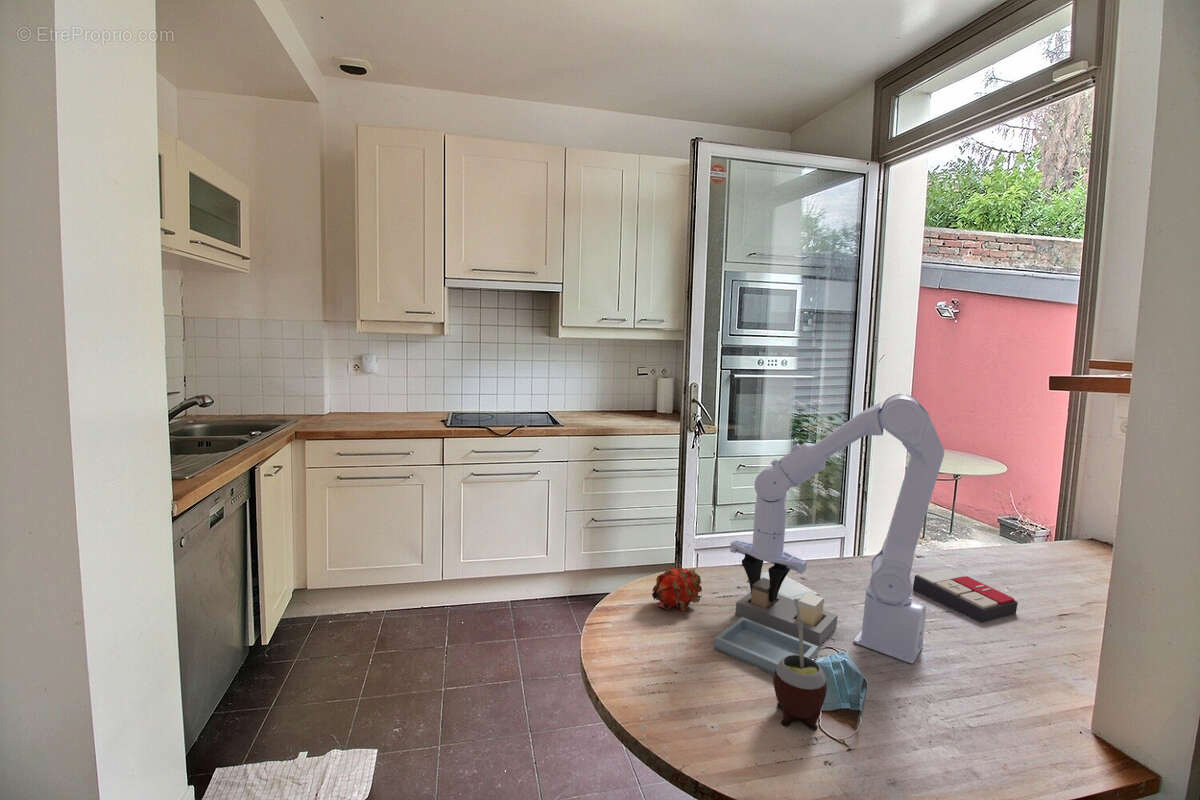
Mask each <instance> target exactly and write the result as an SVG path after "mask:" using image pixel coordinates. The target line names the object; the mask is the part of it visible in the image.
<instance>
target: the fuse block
mask: <svg viewBox="0 0 1200 800" xmlns="http://www.w3.org/2000/svg"><path fill="white" fill-rule="evenodd" d="M751 597H752V595H751V591H749V592H748V593H747V594H745V595H744V596H743V597H741V598H740V599H739V600H738V601H736V602H735V615H736V616H738V617H740V618H741V617H744V618H746V619H749V620H751V621H754V622H757V623H759V624H762V625H764V626H767V627H770V628H772V629H775V630H777V631H780V632H782V633H785V634H788V635H790V636H793V637H795V638H798V639H799V628H798V624H797V621H798V620H797V611H796V607H795V602H794V600H792V599H790V598H787V597H784V596H781V595H777V599H776V603H775V604H774V605H772V606H771V607H770V608H769V609H765V608H762V607H760V606H757V605H754V604H751ZM837 625H838V614H836V613H833V612H830V611H827V610H824V609H823V615H822V621H821V622H820V623H819V624H818V625H817V626H816V627H814V626H812V625H809V624H806V623H803V628H802V630H803V641H806V642H808V643H811V644H814V645H816V646H818V648H820V647H821V645H822V644H823V643H824V642H825V641H826V640H827V639H828V638H829V636H830V635H831V634H833V632H834V631H835V630H836V629H837V628H838V627H837Z"/></svg>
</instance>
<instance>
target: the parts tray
mask: <svg viewBox="0 0 1200 800" xmlns="http://www.w3.org/2000/svg"><path fill="white" fill-rule="evenodd" d="M713 643H714V644H713V649H714V650H716V651H719V652H720V653H722V654H725V655H727V656H729V657H732V658H734V659H737V660H739V661H740V662H743V663H746V664H747V665H750V666H752V667H755V668H757V669H759V670H760V671H761V670H762V671H763V672H766V673H768V674H770V675H773V676H774V673H775V670H776V667H777V665H778V663H779V662H780V661H781V660H782V659H783V658H784V657H786V656H788V655H800V654H799V639H798V638H795V637H793V636H790V635H788V634H785V633H782V632H780V631H777V630H775V629H772V628H770V627H767V626H764V625H762V624H759V623H757V622H754V621H751V620H749V619H746V618H744V617H740V618H738V619H737V620H735V621H734V622H733V623H732V624H731V625H729V626H728V627H726V628H725V629H724V630H723V631H722V632H720V633H719V634H717V636H715V637H714V642H713ZM818 653H819V647H818V646H816V645H814V644H811V643H808V642H806V641H803V656H805V657H808V658H810V659H814V658H816V659H818Z"/></svg>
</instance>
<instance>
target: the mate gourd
mask: <svg viewBox="0 0 1200 800" xmlns="http://www.w3.org/2000/svg"><path fill="white" fill-rule="evenodd" d="M794 602H795V607H796V611H797V616H798V621H797V624H798V628H799V654H800V655H788V656H786V657H784V658H783V659H782V660H781V661H780V662H779V663H778V665H777V667H776V670H775V673H774V675H773V677H772V678H773V679H772V684H773V688H774V693H775V697H776V700H777V703H776V707H777V708H779V709H780V710H781V711H782V715H783V720H781V723H780V724H781V726H783V727H784V728H787V727H789V726H790V725H792V724H794V723H796V722H799V723H801V724H802V725H803V726H805V727H807V728H808V729H810V730H812V731H813V732H816V731H817V730H818V728H819V727H818V725H817V723H818V720H819V717H820V714H821V712H822V707H823V705H824V702H825V699H826V696H827V690H828V685H827V677H826V676H825V673H824V670H823V668H822V667H821V665H820V664H818V663H817V662H816V660H815V661H814V660H812V659H810V658H808V657H805V656H803V630H802V628H803V621H802V617H801V612H800V608H799V604H798V600H797V599H794Z"/></svg>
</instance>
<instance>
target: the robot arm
mask: <svg viewBox="0 0 1200 800" xmlns="http://www.w3.org/2000/svg"><path fill="white" fill-rule="evenodd" d="M928 412H929V411H927V409H926V408H925V407H924V406H923V405H922V404H921V403H920V402H919V401H918V400H917V399H916V398H915V397H913V395H910V394H907V393H906V394H905V393H897V394H893V395H891V396H889V397H887V398H886V400H884V402H883V403H882V401H880V402H878V403H876V404H874V405H872V406H869V407H868V408H866V409H864V410H863V411H860V412H859V413H857V414H856V415H855V416H853V417H852V418H850V419H849V420H848V421H847V422H845V423H843V424H842V425H840V426H839V427H838V428H837V429H835V430H834V431H833V432H831V433H829V434H828V435H827V436H824V438H823V439H821V440H819V441H818V442H817V443H811V442H804V443H802V444H800V443H796V444H794V445H793V446H792V447H791V450H792V451H790V452H788V453H787V454H785V455H784V456H783V457H781V458H779V459H778V460H777V459H774V460H772V461H771V462H770V464H771V465H769V466H766V467H765V468H764V469H763V470H762V471H760V473H758V474H757V476H756V477H755V480H754V491H755V493H756V499H755V500H756V503H755V506H754V517H753V519H754V520H753V532H752V534H753V535H752V543H751V542H746V541H745V542H744V541H741V540H736V539H735V540H733V541H731V542H730V548H729V550H730V553H732V554H733V553H734V554H736V553H738V554H742V555H743V556H744V558H743V559H742V560H741V565H742V567H743V569H744V571H745V573H746V575H747V581H748V580H749V581H748V584H749V588H750V592H751V595H752V585H753V584H754V583H755V582H757V581H758V580H760V578H761V573H762V569H763V565H764V562H766V563H770V564H773V565H772V566H770V567H769V568H768V571H767V572H769V578H770V589H769V602H774V601H775V600H776V599H777V595H778V592H779V589H780V587H781V584H782V582H783V580H784V579H785V577H786V576H788V574H789V573H790V571H791V570H793V571H796V573H797V574H804V573H805V572H806V571H807V565H808V564H807V561H808V560H804V559H802V558H799V557H797V556H795V555H792V554H791V553H788V552H786V551H784V548H785V547H784V546H785V545H784V544H785V534H786V522H787V521H786V519H787V511H788V510H787V499H788V498H787V497H788V494H787V493H788V491H789V490H790V488H796V487H798V486H800V485H801V484H802V483H804V482H806V481H807V480H809V479H810V478H812V477H813V476H815V475H817V474H818V473H820V472H822V471H823V470H824V469H826V465H827V463H826V462H827V459H828V458H829V457H831V456H834V455H835V454H836V453H838V452H840V451H841V450H843V449H845V448H846V447H848V446H850V445H851V444H853V443H854V442H856V441H857V440H860V439H862V438H863V437H865V436H883V435H884V430H885V431H886V432H887V433H889V434H890V435H891V436H893V437H894V438H895V439H897V440H899V441H900V442H901V444H902V445H903V446H904V448H905V449H906V451H907V452H908V453H909V455H910V456H909V460H908V463H907V467H906V469H905V474H904V477H903V480H902V484H901V487H900V491H899V494H898V497H897V501H896V503H895V507H894V511H893V513H892V516H891V520H890V524H889V528H888V530H887V533H886V538H885V539H884V542H883V544H882V547H881V549H880V550H879V552H877V554H875V555H874V556H873V558H872V560H871V577H870V579H869V584H868V585H867V586H866V588H865V597H864V598H865V599H864V608H863V609H864V610H863V618H862V625H861V626H862V627H861V630H860V632H859V633H858V634H857V635H856V637H855V638H854V639H853V642H854V644H857V645H860V646H862V647H865V648H868V649H871V650H873V651H876V652H879V653H881V654H884V655H886V656H887V655H888V656H890V657H892V658H895V659H897V660H899V661H904V662H906V663H908V664H914V662H915V661H916V659H917V657H918V655H919V653H920V651H921V650H922V648H923V647H924V635H925V634H924V633H925V625H926V624H925V623H926V616H927V609H926V608H927V607H926V606H925V605H923V604H920V603H918V602H916V601H915V600H914V599H913V595H912V591H913V585H912V581H911V571H912V567H913V562H914V556H915V551H916V547H917V544H918V541H919V537H920V534H921V531H922V528H923V525H924V522H925V518H926V515H927V512H928V508H929V505H930V503H931V502H930V501H931V499H932V495H933V492H934V489H935V485H936V483H937V479H938V476H939V473H940V469H941V466H942V463H943V460H944V456H945V448H944V446H943V444H942V442H941V440H940V437H939V435H938V432H937V430H936V428H935V425H934V423H933V421H932V418H931V416H930V414H929V413H928Z"/></svg>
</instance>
